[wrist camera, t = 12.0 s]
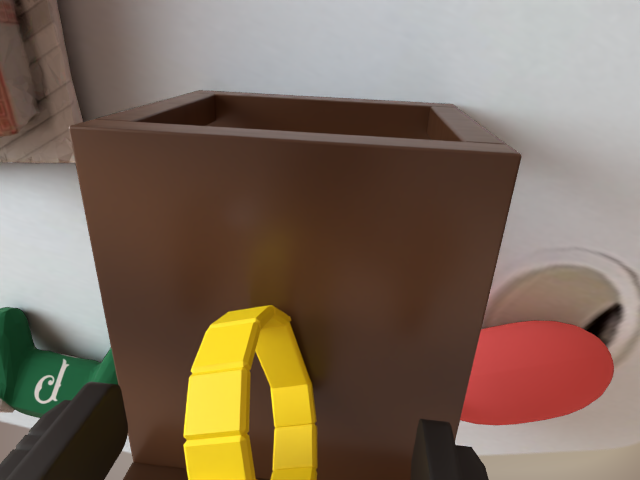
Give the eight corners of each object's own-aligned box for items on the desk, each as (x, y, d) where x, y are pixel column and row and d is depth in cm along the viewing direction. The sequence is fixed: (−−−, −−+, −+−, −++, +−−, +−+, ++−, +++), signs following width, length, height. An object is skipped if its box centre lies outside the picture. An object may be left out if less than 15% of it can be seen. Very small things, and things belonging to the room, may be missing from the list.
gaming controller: (27, 313, 30) (-12, 404, 28) (-9, 301, 26) (-57, 406, 24) (158, 340, 30) (128, 435, 28) (139, 333, 26) (103, 441, 24)
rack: (198, 90, 21) (11, 140, 10) (453, 104, 20) (553, 176, 9) (215, 331, 27) (109, 528, 16) (413, 350, 26) (446, 575, 15)
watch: (213, 281, 13) (107, 443, 8) (299, 266, 13) (249, 429, 7) (268, 426, 16) (214, 628, 10) (343, 418, 15) (329, 626, 10)
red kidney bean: (435, 279, 25) (405, 376, 21) (623, 304, 21) (627, 430, 17) (443, 330, 29) (419, 422, 25) (606, 360, 24) (607, 476, 21)
